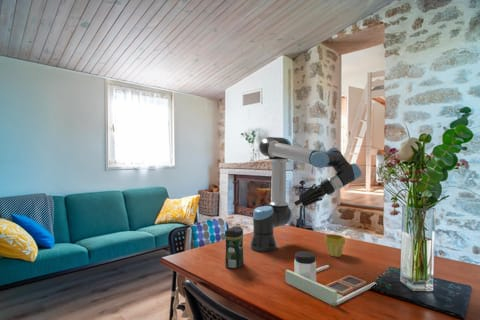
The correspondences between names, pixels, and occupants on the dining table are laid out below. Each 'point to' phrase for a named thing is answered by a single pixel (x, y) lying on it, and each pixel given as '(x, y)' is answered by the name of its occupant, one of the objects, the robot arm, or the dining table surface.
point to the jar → (305, 264)
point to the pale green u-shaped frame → (328, 287)
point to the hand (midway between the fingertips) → (289, 208)
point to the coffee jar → (234, 247)
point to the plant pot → (334, 244)
